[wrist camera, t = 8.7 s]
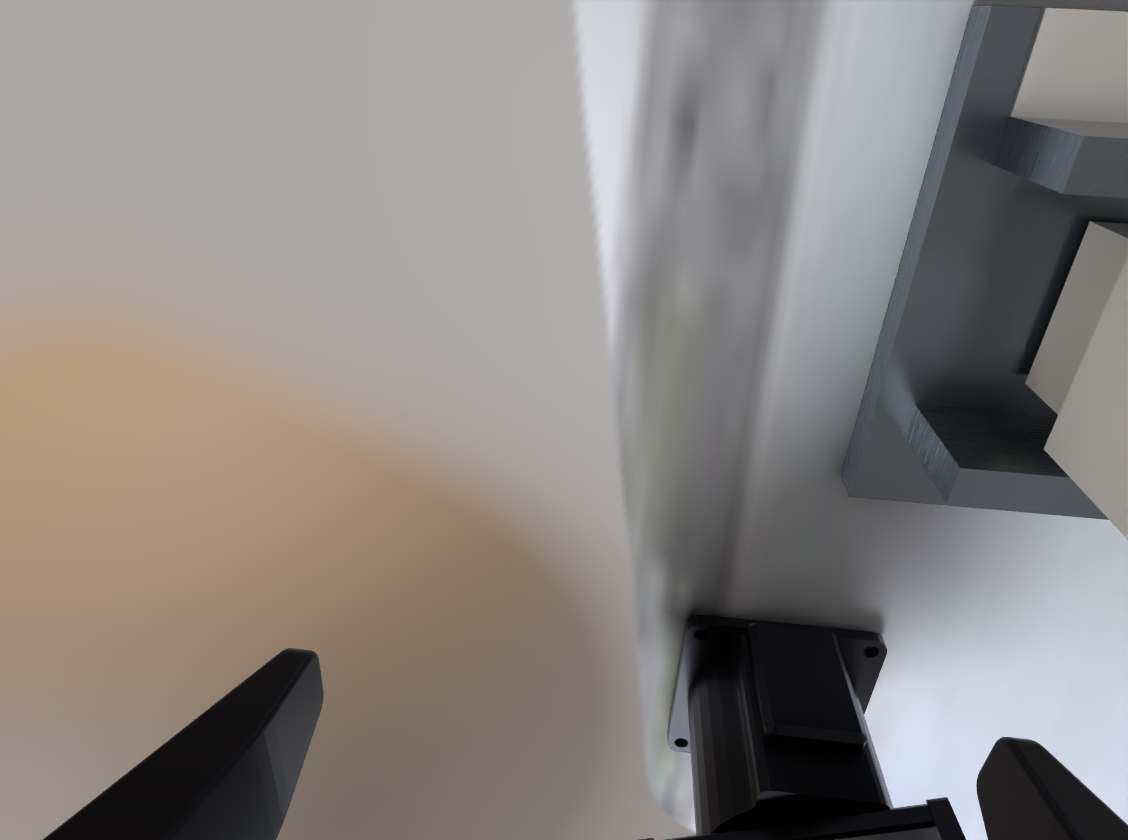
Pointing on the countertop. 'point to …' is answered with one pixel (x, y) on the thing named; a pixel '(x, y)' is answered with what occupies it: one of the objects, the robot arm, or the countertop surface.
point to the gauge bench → (995, 264)
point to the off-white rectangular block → (1091, 371)
